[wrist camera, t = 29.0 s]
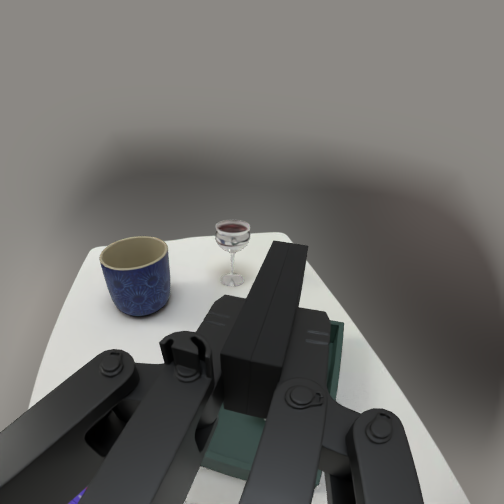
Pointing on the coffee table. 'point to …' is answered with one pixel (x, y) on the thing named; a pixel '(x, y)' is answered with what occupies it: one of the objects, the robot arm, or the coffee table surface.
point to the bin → (258, 424)
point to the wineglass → (232, 245)
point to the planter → (137, 274)
